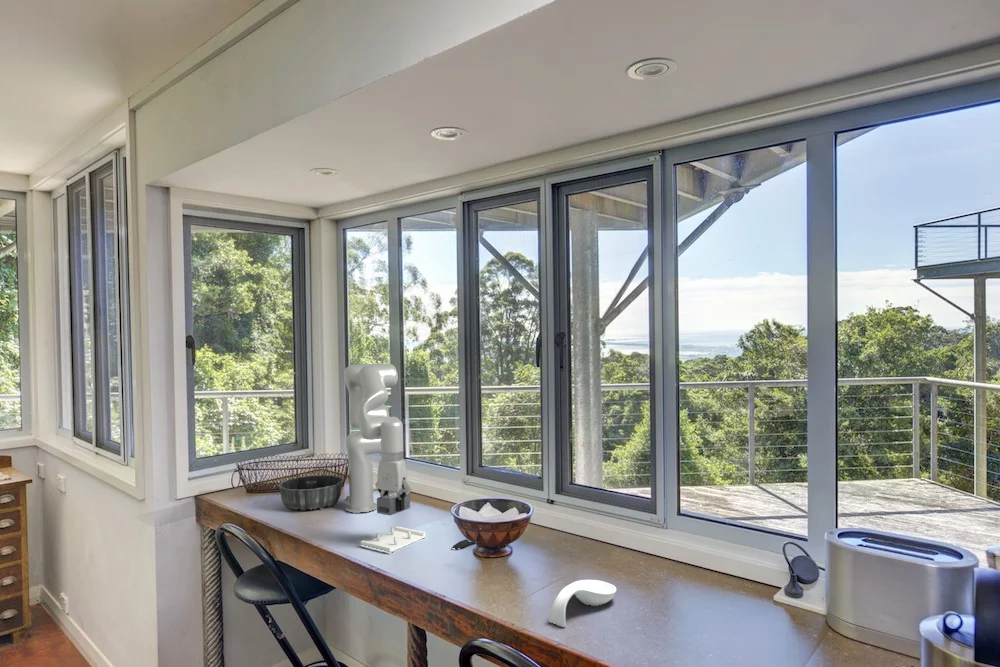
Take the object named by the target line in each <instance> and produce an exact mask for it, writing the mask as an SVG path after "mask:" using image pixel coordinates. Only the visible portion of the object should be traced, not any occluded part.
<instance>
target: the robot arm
mask: <svg viewBox="0 0 1000 667" xmlns="http://www.w3.org/2000/svg"><path fill="white" fill-rule="evenodd" d="M343 377H344V378H343V379H344V383H345V385H346V388H347V392H348V397H349V398H348V400H349V403H348V404H349V406H348V408H349V410H348V411H349V423H350V426H351V428H354V429H359V431H354V432H351V433H349V434H348V435H347V436H346V438H345V445H346V451H347V457H348V458H347V459H348V476H349V477H348V483H349V484H348V485H349V486H348V487H349V489H348V493H349V495H347V496H346V498H344V500H343V501H344V502H345V503H347V506H345V511H346V510H347V511H350V512H367V513H370V512H369V511H371V512H373V511H372V510H374V511H376V510H377V509H376V508H377V502H376V503H375V502H374V485H375V487H376V489H377V491H378V492H379V494H380V496H379V497H382V496H385V495H388V494H390V492H391V493H394V492H396V493H397V497H398V500H397V511H398V513H400V512H399V511H401V512H403V511H402V510H404V509H405V507H404V498H406V496H407V495H408V493H409V494H410V492H411V491H412V488H411V486H410V485H409V483H408V476H407V475H408V474H407V467H406V462H405V460H404V425H403V422H402V420H400V419H399V418H398V417H397V416H390V412H389V408H388V406H387V405H386V404H385V403H386V402H387V401H388V399H389V393H388V390H387V387H388V386H389V387H391V386H392V387H393V386H395V385H396V384H397V382H398V381H399V380H398V379H399V375H398V370H397V368H396V366H394V364H392V363H362V364H361V363H359V364H351V365H349V366H347V367H346V368H345V369H344V375H343ZM375 454H376V455H377V454H379V456H380V458H381V459H380V460H378V467H377V479H376V480H377V481H376V482H375V484H374V466H373V463H372V462H371V459H370V458H368V457H367V456H368V455H375ZM400 492H401V494H400ZM375 509H376V510H375ZM347 511H346V512H347ZM404 511H405V510H404ZM350 512H349V513H350Z"/></svg>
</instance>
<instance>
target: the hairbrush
mask: <svg viewBox="0 0 1000 667" xmlns="http://www.w3.org/2000/svg"><path fill="white" fill-rule="evenodd" d="M467 539H468V538H466V539H463V540H460V541H458V542H457V543H455V544H454V545H452V547H451V549H452V548H455V549H457V548H462V547H464V548H465V547H467V546H468V545H470V544H471V543H470V542H469V541H468V540H467ZM462 549H463V548H462ZM457 550H458V549H457Z"/></svg>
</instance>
